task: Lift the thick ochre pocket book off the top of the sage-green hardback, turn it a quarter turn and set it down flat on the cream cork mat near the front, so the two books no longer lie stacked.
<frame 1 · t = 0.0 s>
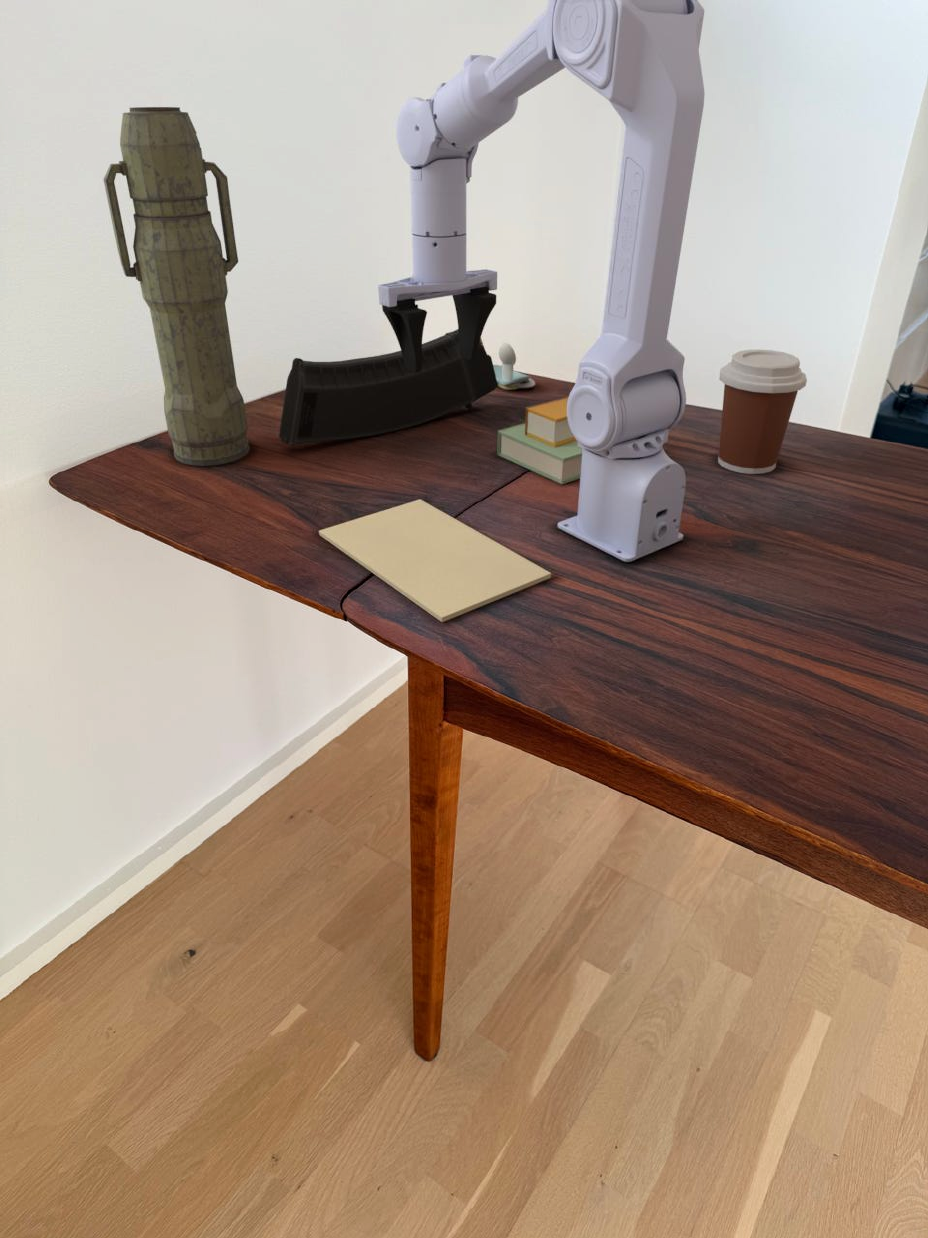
hand: (441, 364, 96), 10 cm above the table, tool pointing down, fingers open, 7 cm apart
magazine: (395, 428, 108), on the table
pacifier: (512, 387, 123), on the table
coffee cup (beverage): (746, 464, 98), on the table
pocket book: (581, 428, 99), point 3 cm above the table, touching hardback
mat: (429, 555, 79), on the table
hardback: (579, 453, 100), on the table, touching pocket book
green canister: (213, 453, 101), on the table
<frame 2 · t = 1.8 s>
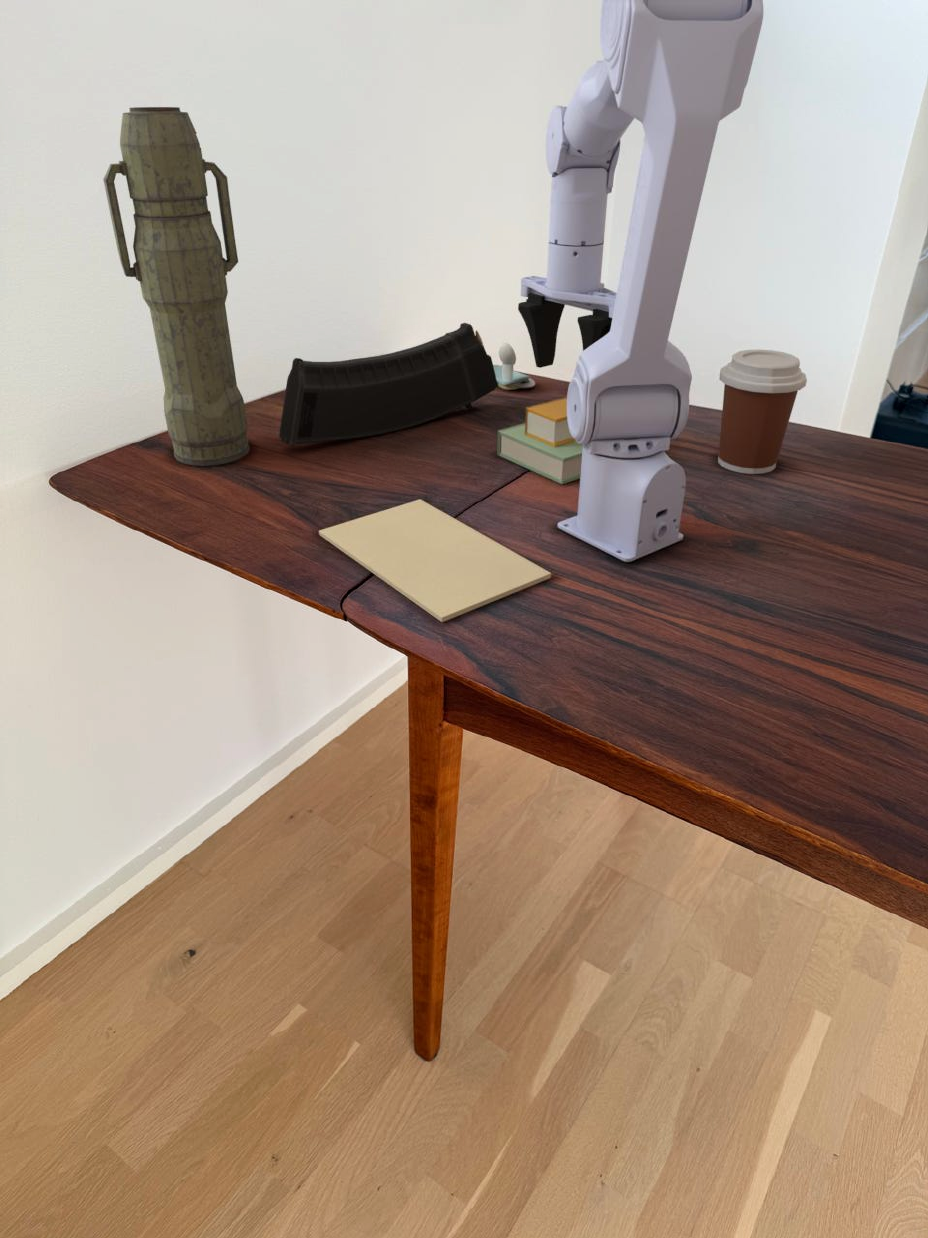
hand: (567, 373, 95), 9 cm above the table, tool pointing down, fingers open, 7 cm apart
nothing on the table moved.
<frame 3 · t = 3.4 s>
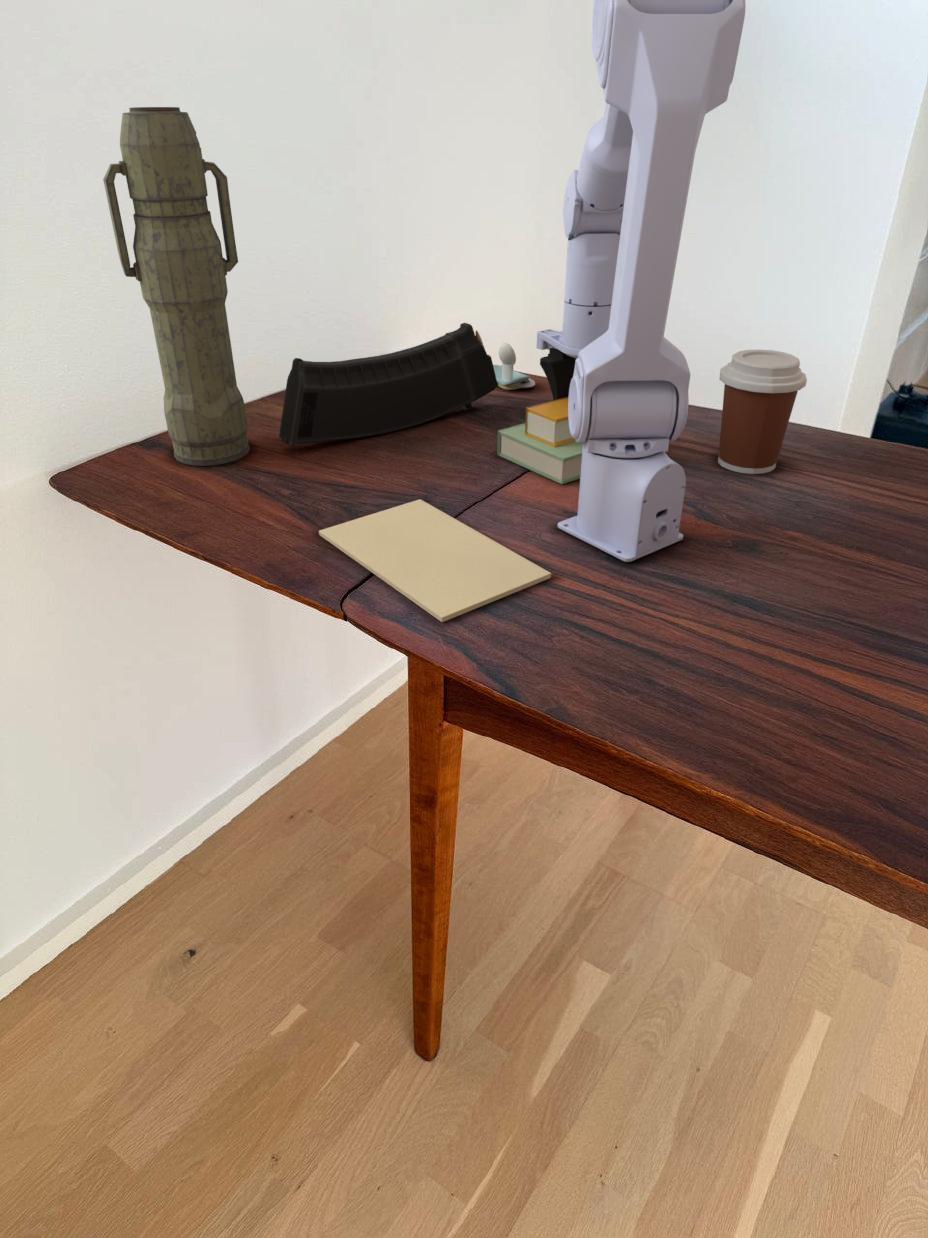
hand: (581, 423, 98), 4 cm above the table, tool pointing down, fingers closed on pocket book, 5 cm apart
pocket book: (581, 428, 99), point 3 cm above the table, touching gripper, hardback
everything else where it was.
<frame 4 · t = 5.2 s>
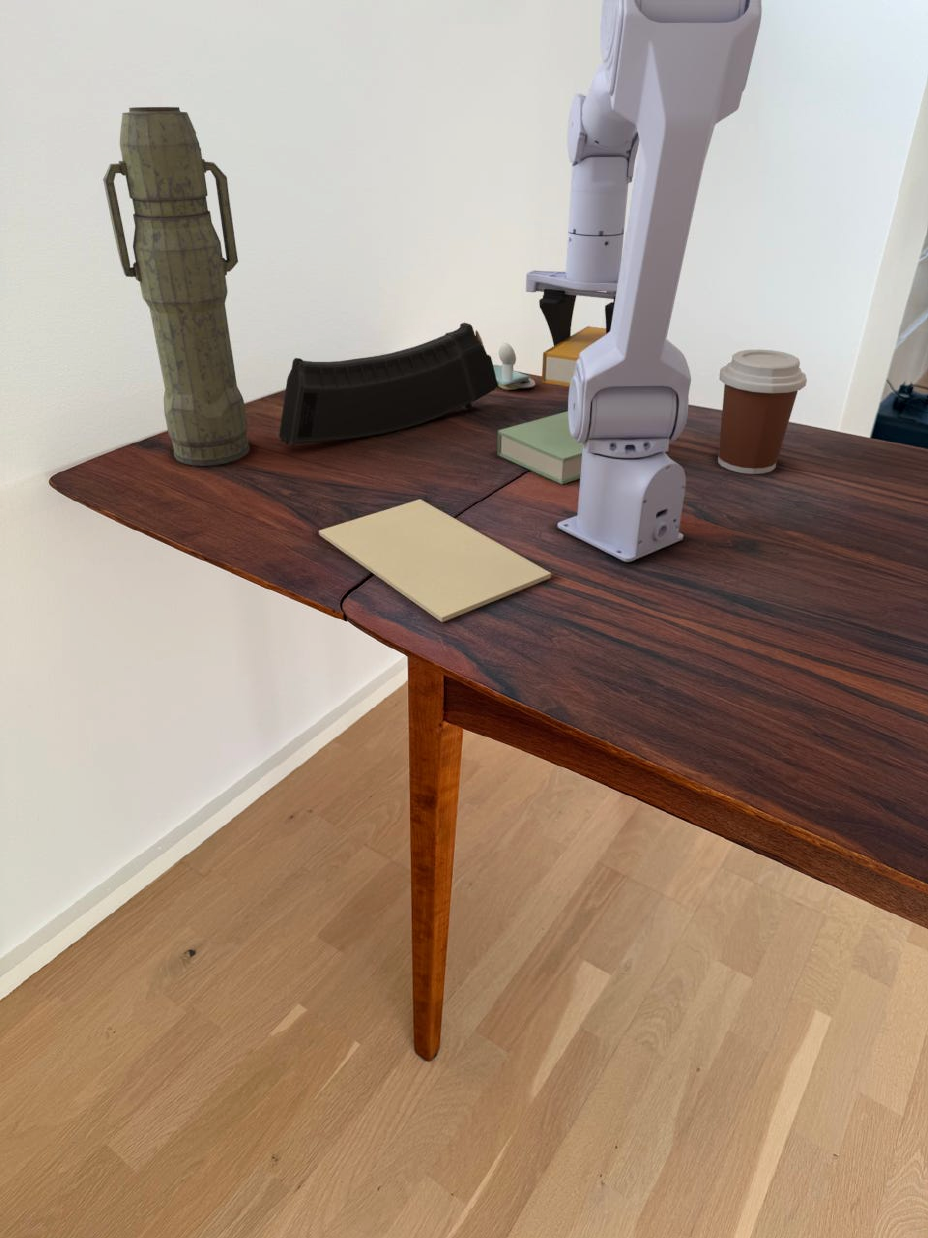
hand: (586, 364, 95), 10 cm above the table, tool pointing down, fingers closed on pocket book, 5 cm apart
pocket book: (585, 370, 95), point 10 cm above the table, touching gripper
hardback: (579, 453, 100), on the table
everything else where it was.
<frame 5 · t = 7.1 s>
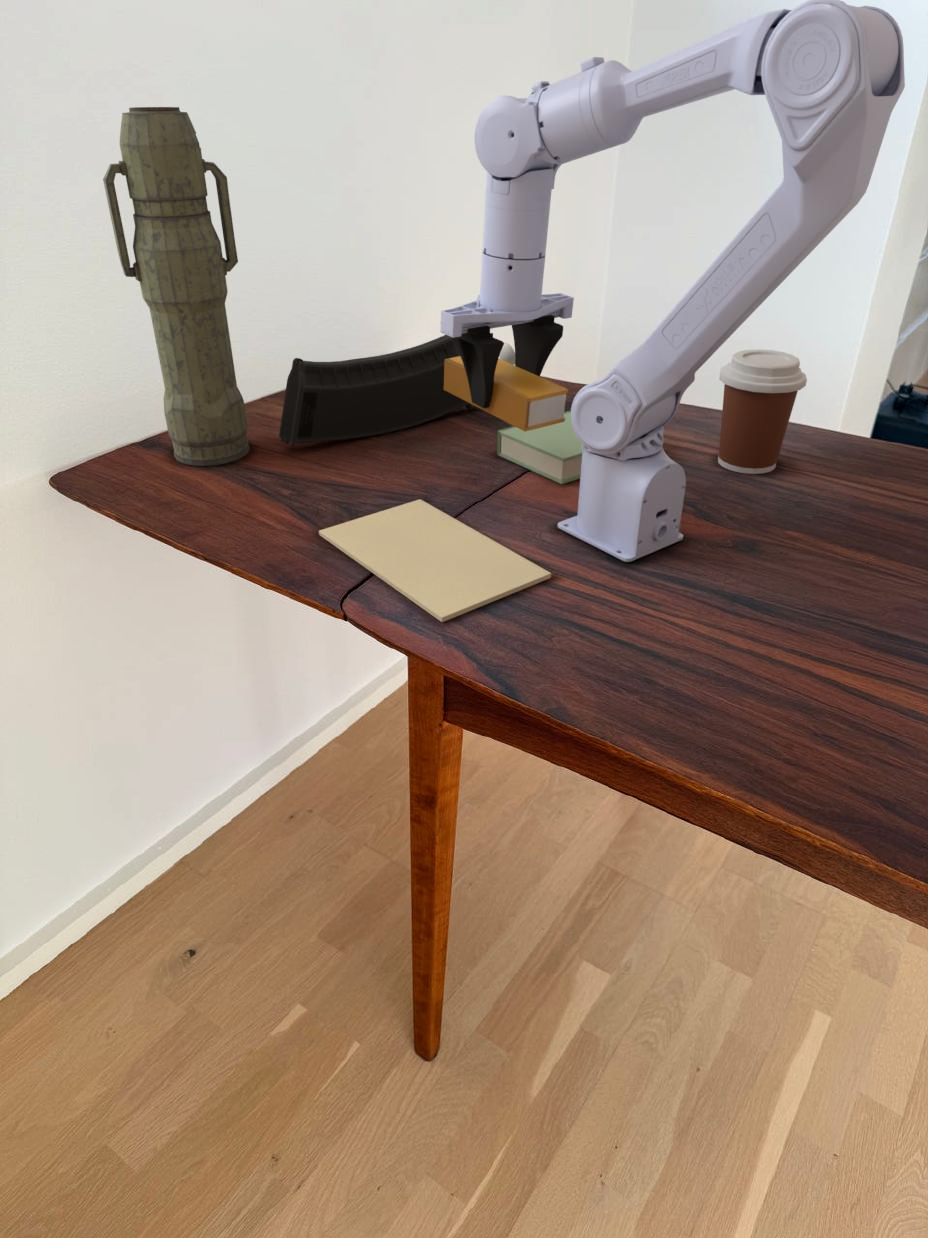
hand: (502, 399, 84), 10 cm above the table, tool pointing down, fingers closed on pocket book, 5 cm apart
pocket book: (502, 405, 85), point 10 cm above the table, touching gripper
everything else where it was.
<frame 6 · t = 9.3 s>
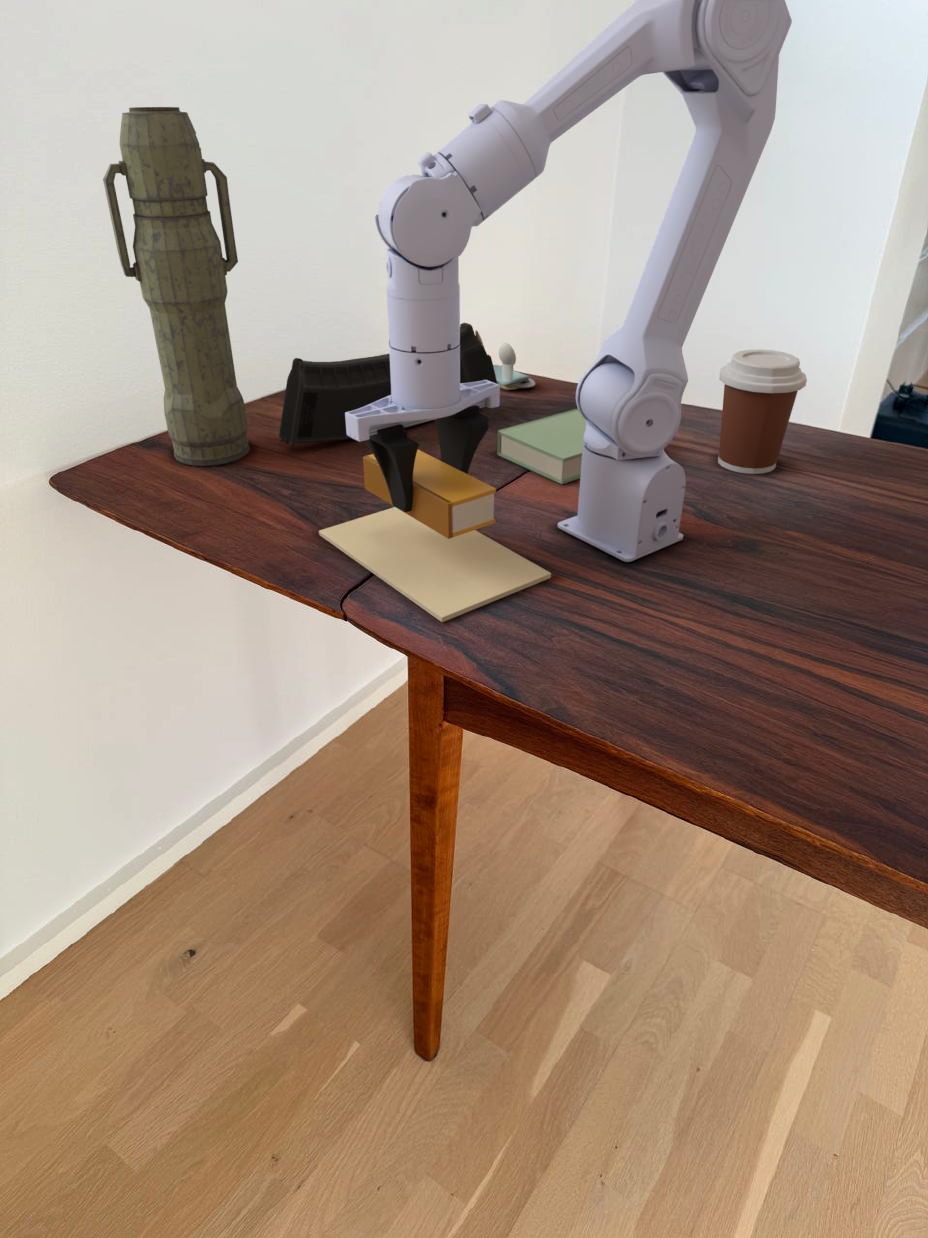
hand: (428, 499, 76), 6 cm above the table, tool pointing down, fingers closed on pocket book, 5 cm apart
pocket book: (427, 505, 76), point 5 cm above the table, touching gripper
everything else where it was.
when the fingers open (1 cm above the table, at t = 11.0 s): pocket book stays where it is, resting on mat.
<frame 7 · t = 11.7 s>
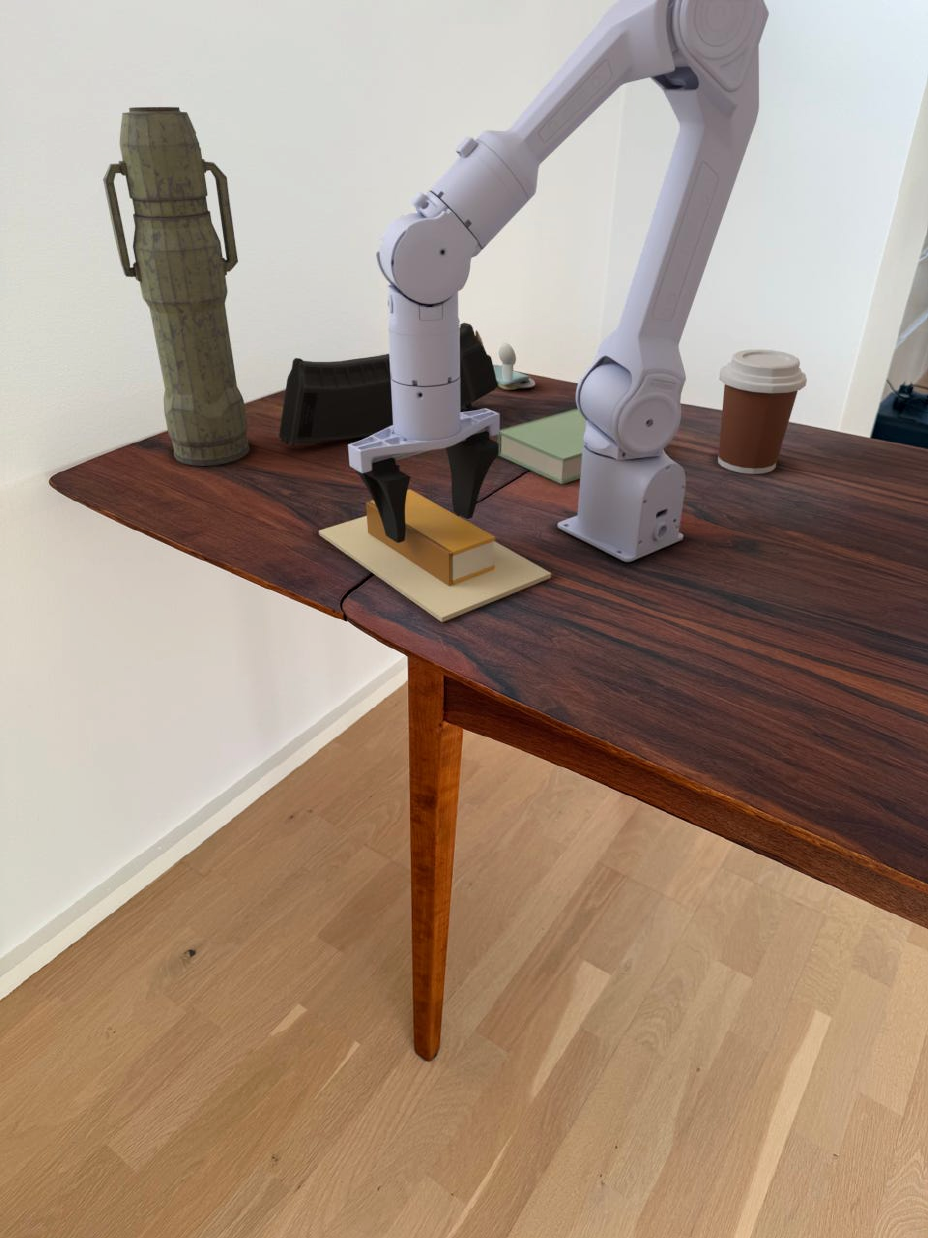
hand: (430, 526, 77), 3 cm above the table, tool pointing down, fingers open, 7 cm apart
pocket book: (428, 550, 78), resting on mat
everything else where it was.
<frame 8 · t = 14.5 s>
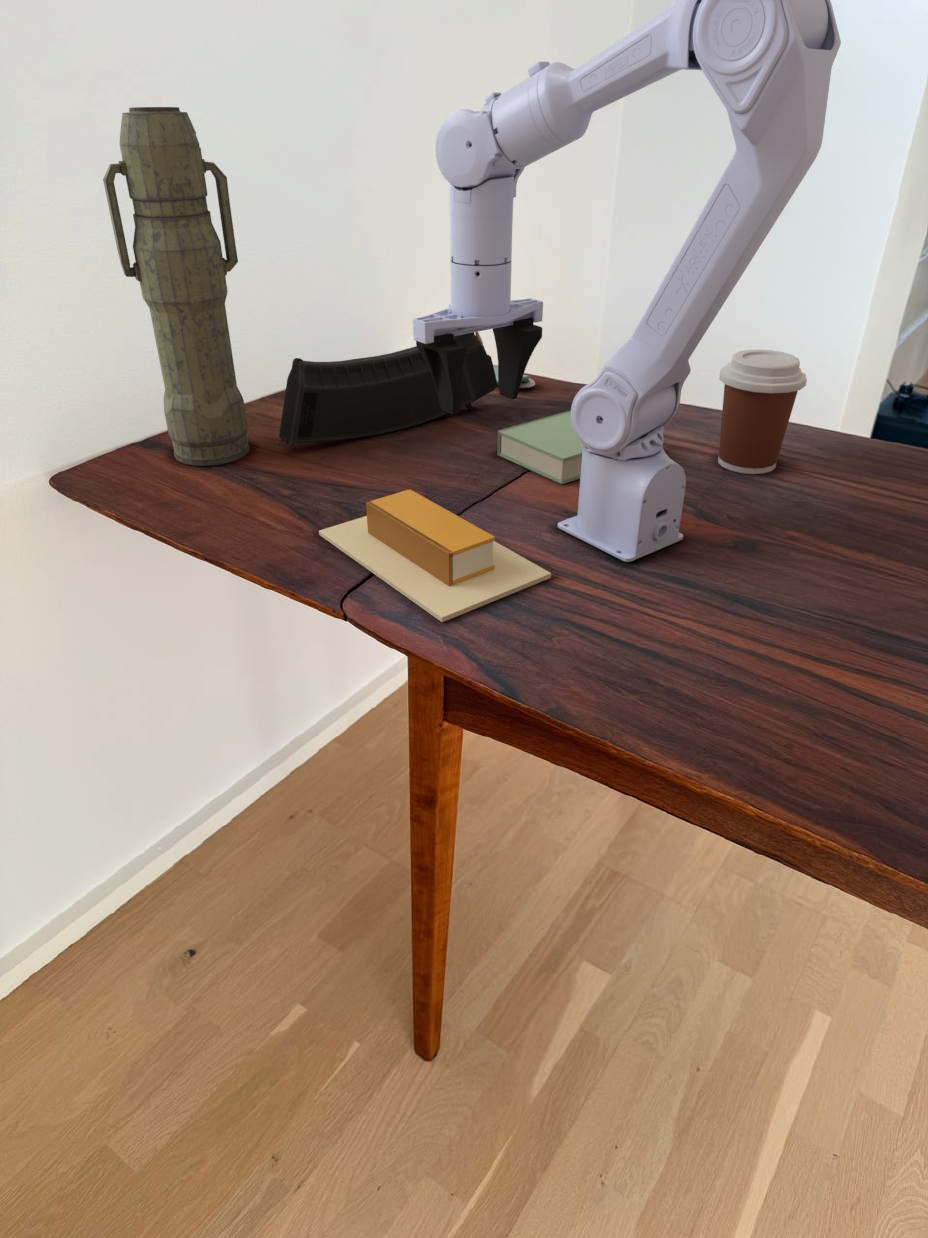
hand: (479, 403, 86), 9 cm above the table, tool pointing down, fingers open, 7 cm apart
nothing on the table moved.
at the end: pocket book inside the target area on the mat (0.1 cm from its centre), point 0.5 cm above the mat's base; pocket book touching mat; hardback moved 0.0 cm from its start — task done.
